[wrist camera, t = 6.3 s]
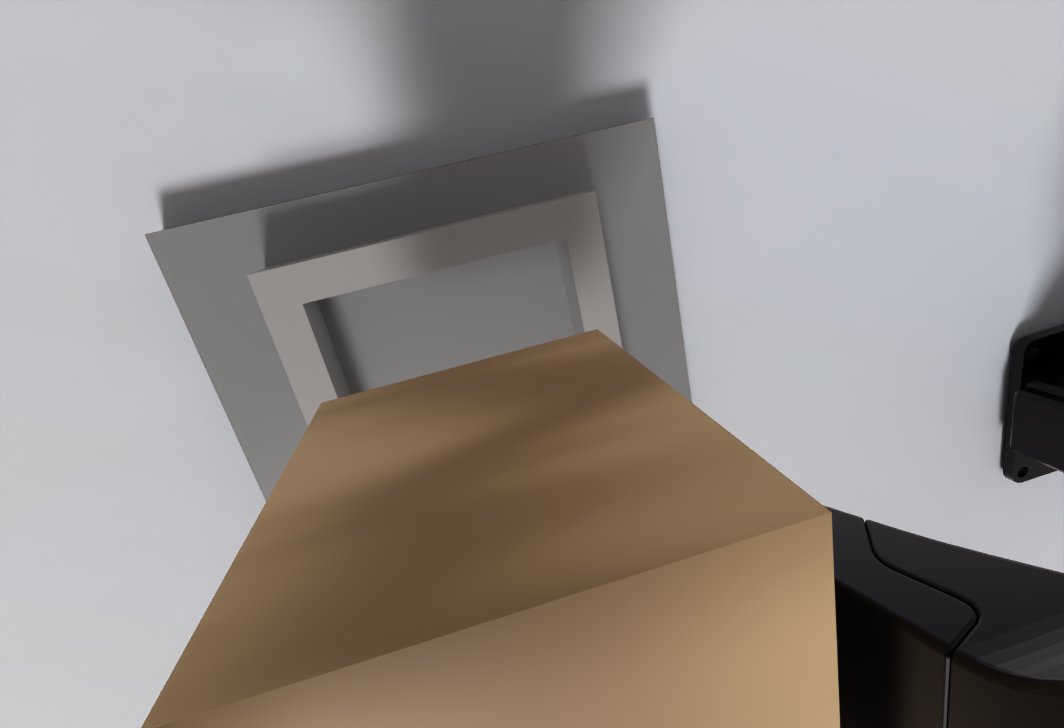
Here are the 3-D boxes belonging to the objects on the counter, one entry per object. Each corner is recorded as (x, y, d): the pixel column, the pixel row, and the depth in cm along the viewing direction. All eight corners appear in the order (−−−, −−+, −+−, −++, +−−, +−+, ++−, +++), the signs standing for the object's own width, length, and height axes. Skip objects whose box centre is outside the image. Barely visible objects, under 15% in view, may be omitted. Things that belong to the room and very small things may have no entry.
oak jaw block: (597, 328, 10) (831, 511, 4) (639, 551, 11) (847, 907, 6) (321, 403, 9) (138, 731, 3) (406, 624, 11) (376, 1096, 5)
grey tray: (640, 122, 16) (676, 109, 14) (688, 463, 20) (722, 498, 18) (163, 232, 15) (111, 238, 12) (315, 576, 18) (298, 631, 16)
